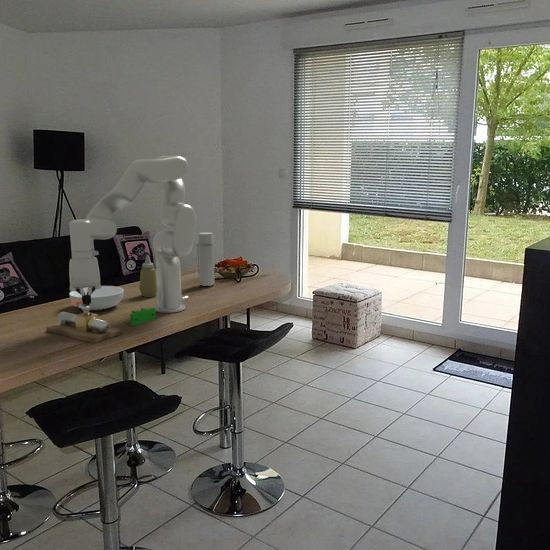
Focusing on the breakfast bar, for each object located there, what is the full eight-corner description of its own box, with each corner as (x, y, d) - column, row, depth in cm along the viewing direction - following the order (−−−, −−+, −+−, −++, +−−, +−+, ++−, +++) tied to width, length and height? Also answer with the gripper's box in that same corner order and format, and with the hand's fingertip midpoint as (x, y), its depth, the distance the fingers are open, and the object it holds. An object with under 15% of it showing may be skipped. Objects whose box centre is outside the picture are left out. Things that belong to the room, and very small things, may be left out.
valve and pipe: (68, 321, 208) (67, 308, 207) (111, 331, 196) (110, 317, 195) (56, 325, 204) (55, 311, 203) (99, 335, 192) (98, 320, 191)
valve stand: (74, 323, 212) (74, 319, 211) (121, 333, 199) (121, 329, 199) (46, 331, 202) (46, 327, 201) (93, 343, 189) (93, 338, 189)
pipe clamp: (148, 318, 220) (148, 306, 219) (155, 319, 218) (155, 308, 217) (125, 324, 211) (125, 312, 210) (133, 326, 208) (132, 314, 208)
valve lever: (91, 314, 198) (91, 306, 197) (83, 315, 196) (83, 307, 195) (78, 306, 208) (78, 298, 207) (70, 307, 206) (70, 299, 206)
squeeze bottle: (157, 293, 259) (155, 253, 255) (159, 297, 251) (158, 256, 248) (138, 294, 256) (137, 254, 253) (140, 298, 249) (138, 257, 245)
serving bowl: (98, 299, 248) (97, 283, 246) (135, 305, 238) (134, 289, 236) (58, 310, 230) (57, 293, 229) (96, 317, 220) (95, 299, 219)
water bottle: (217, 284, 278) (216, 232, 273) (211, 287, 270) (210, 234, 265) (198, 283, 280) (197, 231, 275) (193, 286, 272) (191, 234, 267)
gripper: (104, 252, 209) (107, 301, 212) (60, 254, 203) (64, 305, 207) (106, 255, 202) (109, 306, 206) (60, 258, 196) (65, 310, 200)
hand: (86, 305), depth 206 cm, fingers closed
